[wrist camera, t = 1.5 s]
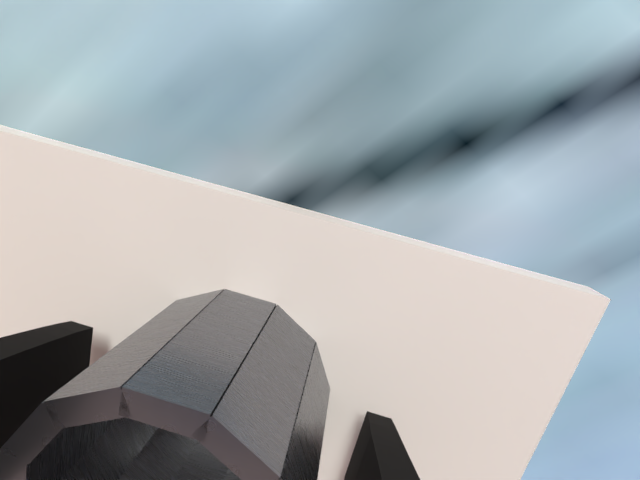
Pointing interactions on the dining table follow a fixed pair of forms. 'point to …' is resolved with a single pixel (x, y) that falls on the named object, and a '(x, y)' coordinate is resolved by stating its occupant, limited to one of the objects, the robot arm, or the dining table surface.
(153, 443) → the steel tube
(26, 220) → the board
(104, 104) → the dining table surface
